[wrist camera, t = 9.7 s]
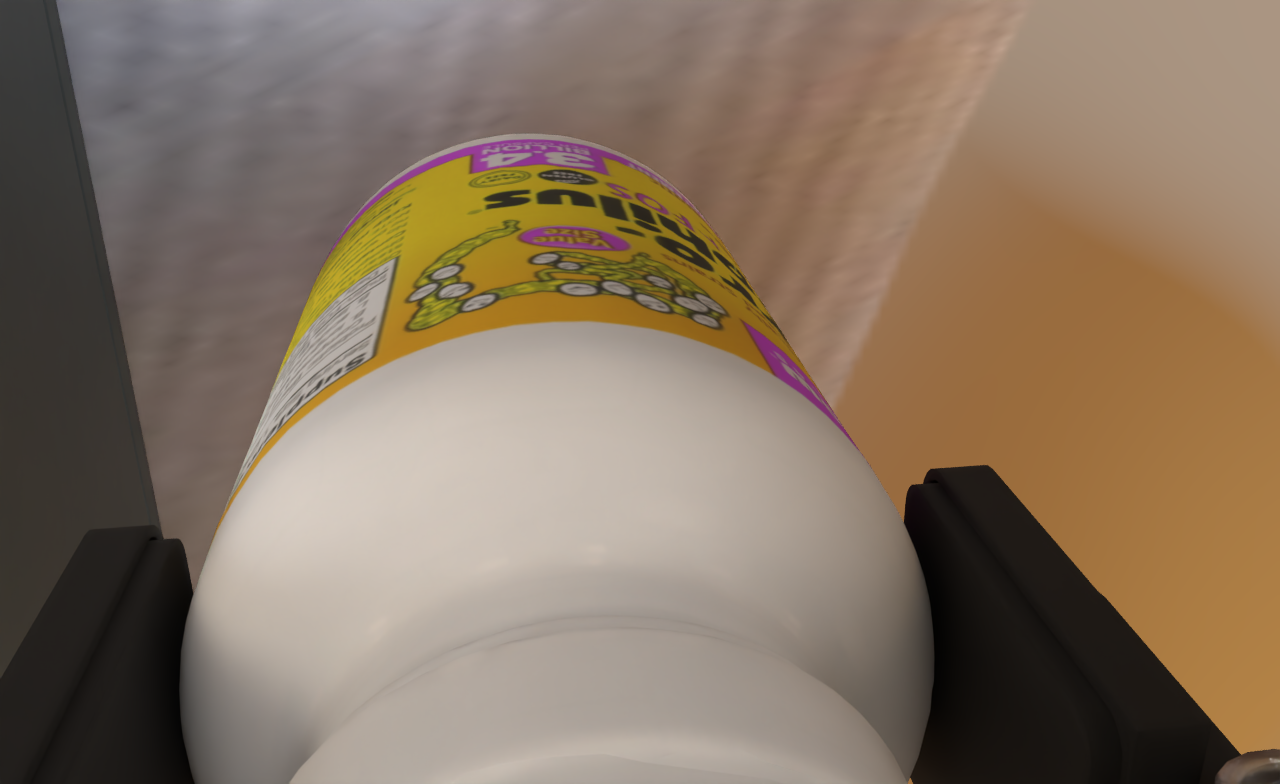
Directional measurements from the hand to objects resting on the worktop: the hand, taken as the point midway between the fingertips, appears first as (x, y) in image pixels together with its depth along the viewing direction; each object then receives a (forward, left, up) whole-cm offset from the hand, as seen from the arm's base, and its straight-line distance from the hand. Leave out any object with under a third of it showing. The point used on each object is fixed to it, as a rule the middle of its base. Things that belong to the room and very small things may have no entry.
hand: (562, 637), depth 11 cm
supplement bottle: (0, 0, -9) cm, 9 cm away
